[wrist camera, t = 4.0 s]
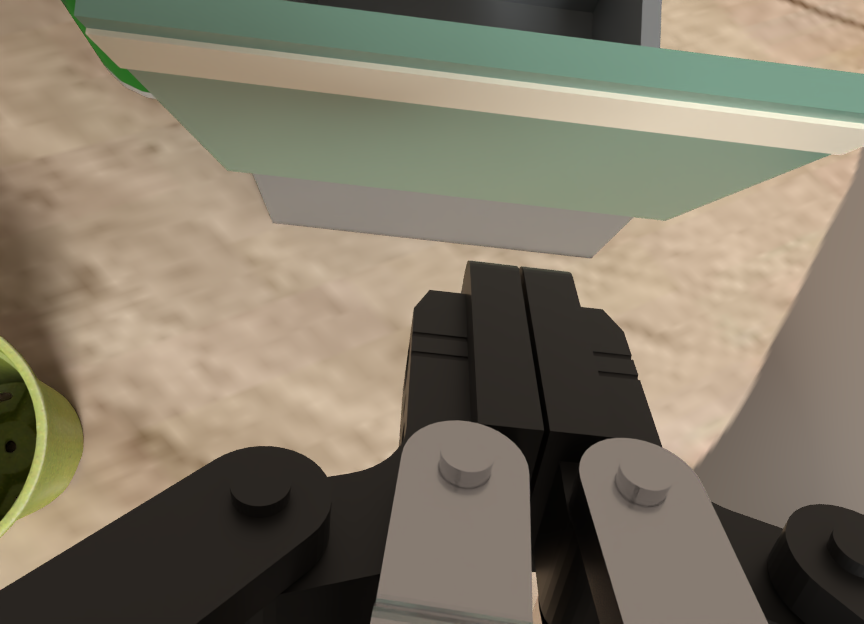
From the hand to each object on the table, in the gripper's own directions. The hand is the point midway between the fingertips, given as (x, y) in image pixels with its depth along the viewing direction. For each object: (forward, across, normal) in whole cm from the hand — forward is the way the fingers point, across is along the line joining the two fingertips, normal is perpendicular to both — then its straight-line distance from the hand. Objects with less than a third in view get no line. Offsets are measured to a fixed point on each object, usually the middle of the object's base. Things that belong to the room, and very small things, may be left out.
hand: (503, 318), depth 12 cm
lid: (+12, 0, +1) cm, 12 cm away
